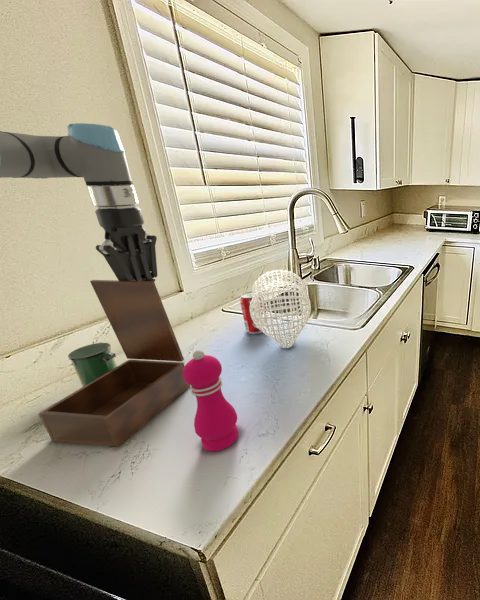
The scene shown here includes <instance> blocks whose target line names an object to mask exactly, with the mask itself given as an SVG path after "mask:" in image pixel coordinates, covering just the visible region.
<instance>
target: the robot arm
mask: <svg viewBox="0 0 480 600" xmlns="http://www.w3.org/2000/svg"><path fill="white" fill-rule="evenodd" d="M1 178H4V179H5V178H11V179H19V178H20V179H21V178H22V179H26V178H27V179H43V180H44V179H54V178H55V179H56V178H57V179H59V178H61V179H62V178H83V180H84V183H85V185H86V188H87V191H88V195H89V197H90V201H91V204H92V206H93V207H96V208H97V209H95V211H94V212H95V216H96V218H97V221H98V225H99V226H100V228H102V230H103V231H104V241H103V243H102V244H96V246H95V250H96V251H97V252H98V253H99V254H100V255H102V256H103V258H104V259H105V261H106V262H107V264H108V266H109V268H110V269H111V270H112V272H113V274H114V275H115V277H116V279H117V280H118V281H154V283H155V282H156V278H157V277H158V264H157V253H156V245H157V244H156V243H157V241H158V239H157V236H156V235H152V234H149V233H147V232H146V230H145V228H144V227H143V225H144V224H145V219H144V215H143V212H142V209H141V208H140V207H139V206H137V205H139V199H138V196H137V191H136V189H135V186H134V183H133V179H132V176H131V172H130V169H129V164H128V161H127V157H126V150H125V149H124V147H123V143H122V141H121V138H120V135H119V133H118V131H117V130H116V129H115V128H114V127H112V126H109V125H105V124H99V123H98V124H97V123H86V122H85V123H84V122H79V123H78V122H75V123H69V124H68V125H67V135H63V136H61V135H60V136H59V135H57V136H56V135H34V134H27V133H18V132H10V131H2V130H0V179H1Z"/></svg>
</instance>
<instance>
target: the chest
mask: <svg viewBox="0 0 480 600" xmlns="http://www.w3.org/2000/svg"><path fill="white" fill-rule="evenodd" d="M184 366H185V363H184V362H183V361H182V362H180V361H161V360H143V359H127V360H125V361H124V362H122V363H121V364H119V365H117V367H116V368H114V369H112V370H111V371H109V372H107V373H106V374H104V375H102V376H101V377H99V378H97V379H96V380H94V381H92V382H90V383H89V384H87V385H85V386H84V387H82V386H81V387H80V388H79V389H77V390H75V391H74V392H72V393H70V394H68V395H67V396H66V397H64V398H62V399H60V400H58V401H57V402H55V403H53V404H52V405H50V406H49V407H47V408H45V409H43V410H41V411H39V412H38V417H39V418H40V420H41V422H42V424H43V426H44V428H45V430H46V432H47V434H48V436H49V438H50V440H51V441H52V442H58V443H69V444H70V443H71V444H78V445H79V444H81V445H92V446H102V447H115V448H119V447H120V446H121V445H123V443H125V442H126V441H127V440H128V439H130V438H131V437H132V436H133V435H134V434H135V433H137V432H138V431H140V429H141V428H142V427H144V426H146V424H147V423H149V422H150V421H151V420H152V419H153V418H155V416H157V415H159V413H160V412H161V411H162V410H164V409H165V408H167V407H168V406H169V405H170V404H171V403H172V402H173V401H174V400H176V399H177V398H179V396H180V395H182V394H183V393H184V392H185V391H186V390H187V389H189V388H190V385H189V384H188V383H186V382H185V380H184V378H183V369H184Z"/></svg>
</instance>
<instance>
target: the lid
mask: <svg viewBox="0 0 480 600" xmlns="http://www.w3.org/2000/svg"><path fill="white" fill-rule="evenodd" d="M89 282H90V284H91V286H92V288H93V289H92V290H93V291H94V293H95V295H96V297H97V299H98V301H99V303H100V305H101V308H102V310H103V312H104V314H105V316H106V318H107V320H108V322H109V324H110V326H111V328H112V330H113V332H114V334H115V336H116V339H117V340H118V341H117V342H118V343H119V345H120V346H121V349H122V351H123V353H124V355H125V357H126V359H127V360H147V361H165V362H183V361H185V358H184V356H183V355H184V354H183V353H182V350H181V348H180V345H179V342H178V340H177V337H176V334H175V332H174V329H173V326H172V324H171V322H170V319H169V316H168V313H167V312H166V309H165V307H164V304H163V301H162V299H161V296H160V293H159V291H158V288H157V285H156V283H155V282H154V281H119V280H118V279H117V280H116V279H115V280H114V279H92V280H90V281H89Z"/></svg>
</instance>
